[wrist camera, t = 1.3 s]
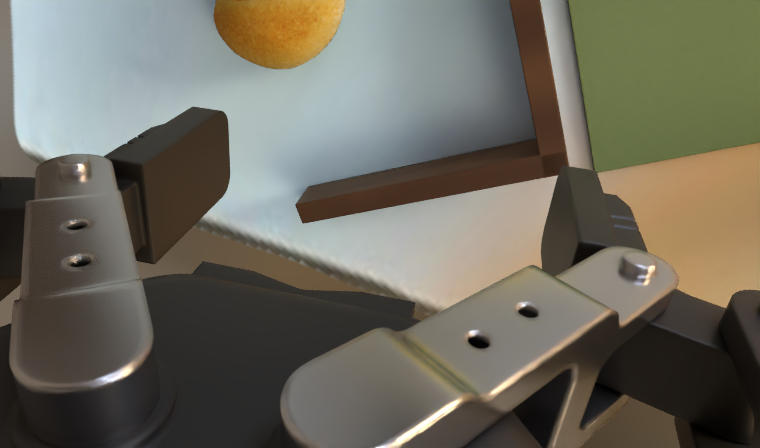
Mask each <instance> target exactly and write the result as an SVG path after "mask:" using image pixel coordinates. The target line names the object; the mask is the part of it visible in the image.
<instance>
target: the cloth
mask: <svg viewBox="0 0 760 448" xmlns="http://www.w3.org/2000/svg"><path fill="white" fill-rule="evenodd" d="M568 4H569V11H570V17H571V24H572V30H573V36H574V43H575V49H576V56H577V62H578V68H579V75H580V81H581V88H582V94H583V101H584V107H585V113H586V120H587V126H588V133H589V139H590V145H591V152H592V158H593V165H594V171H596V172H597V173H599V172H604V171H609V170H615V169H620V168H625V167H630V166H636V165H641V164H646V163H652V162H657V161H662V160H668V159H673V158H678V157H684V156H689V155H694V154H700V153H705V152H710V151H716V150H721V149H726V148H732V147H737V146H742V145H748V144H753V143H758V142H760V0H568Z"/></svg>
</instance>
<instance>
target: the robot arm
mask: <svg viewBox="0 0 760 448" xmlns="http://www.w3.org/2000/svg"><path fill="white" fill-rule="evenodd" d="M229 179H230V157H229V131H228V119H227V116H226V114H225V113H224V112H223V111H218V110H212V109H205V108H199V107H191V108H190V109H188V110H186V111H185V112H183V113H181V114H180V115H178V116H177V117H175V118H173V119H172V120H170V121H169V122H167V123H165V124H162V125H159V126H155V127H152V128H150V129H148V130H146V131H145V132H143V133H141V134H140V135H138V137H135V138H133V139H132V140H130V141H128V143H127V144H123V145H122V146H120V147H118V148H117V149H115V150H114V151H112V152H110V153H109V154H107V155H105V156H104V157H102V156H98V155H92V154H70V155H65V156H60V157H56V158H53V159H50V160H47V161H45V162H43V163H42V164H40V165H39V166H38V167H37V169H36V172H35V178H31V177H30V178H29V177H28V178H27V177H26V178H25V177H0V301H1V300H2V299H4V298H5V297H6V296H7V295H8V294H10V293H11V292H12V291H13V290H14V289H15V288H17V287H18V286H19V285H20V284H21V291H20V299H19V300H15V301H14V304H13V312H12V323H11V324H8V325H5V326H2V327H0V448H579V447H581V446H582V445H583V443H585V442H586V441H587V440H588V439H589V438H590V437H591V436H592V435H593V434H594V433H596V432H597V431H598V430H599V429H600V428H601V427H602V426H603V425H604V424H605V423H606V422H607V421H608V420H610V419H611V418H612V417H613V416H614V415H615V414H616V413H617V412H618V411H619V410H620V409H621V408H623V407H624V406H625V405H626V404H627V403H628V401H629V400H630V398H631V397H632V398H634V399H636V400H638V401H641V402H643V403H645V404H648V405H650V406H652V407H655V408H657V409H659V410H662V411H664V412H666V413H668V414H671V415H673V416H675V419H674V420H675V426H676V431H677V435H678V440H679V444H680V447H681V448H760V291H758V290H743V291H739V292H736V293H735V294H733V295H732V297H731V299H730V301H729V304H728V306H727V308H723V307H720V306H718V305H715V304H712V303H709V302H706V301H703V300H700V299H698V298H695V297H692V296H690V295H688V294H686V293H683V292H681V291H680V290H678V289H676V287H677V284H678V282H679V276H678V273H677V272H676V271H675V269H674V268H673V267H672V266H671V265H670V264H668V263H667V262H666V261H664V260H663V259H661V258H659V257H657V256H655V255H653V254H651V253H648V251H647V249H646V246H645V243H644V241H643V238H642V236H641V233H640V232H639V231H638V230H639V228H638V226H637V223H636V222H635V218H634V216H633V213H632V210H631V208H630V207H629V206H628V205H627V204H626V203H625V202H624V201H622V200H621V199H620V198H619V197H618V196H617V195H611V194H605V193H603V190H602V187H601V184H600V181H599V178H598V174H597V172H596V171H594V170H588V169H581V168H575V167H569V166H562V167H561V169H560V172H559V174H558V178H557V182H556V185H555V189H554V193H553V197H552V201H551V204H550V208H549V212H548V216H547V220H546V223H545V227H544V232H543V237H542V244H541V260H542V269H540V268H538V267H537V266H535V265H530V266H527V267H525V268H523V269H521V270H519V271H517V272H515V273H513V274H511V275H510V276H508V277H506V278H504V279H502V280H500V281H498V282H496V283H494V284H492V285H490V286H489V287H487V288H485V289H483V290H481V291H479V292H477V293H475V294H473V295H471V296H469V297H468V298H466V299H464V300H462V301H460V302H458V303H456V304H454V305H452V306H450V307H448V308H447V309H445V310H443V311H441V312H439V313H437V314H435V315H433V316H431V317H429V318H427V319H426V320H424V321H420V320H418V319H415V318H413V315H414V308H415V302H410V301H405V300H400V299H395V298H390V297H384V296H379V295H374V294H369V293H364V292H347V291H319V290H317V291H315V290H303V289H299V288H296V287H293V286H290V285H288V284H285V283H283V282H280V281H277V280H275V279H272V278H270V277H267V276H264V275H262V274H259V273H257V272H254V271H250V270H245V269H240V268H234V267H229V266H224V265H219V264H214V263H209V262H204V261H203V262H202V263H201V264H200V265H199V266H198V267H197V269H196V270H195V271H194V272H193V273H192V274H172V275H162V276H157V277H151V278H146V279H140V277H139V272H138V267H137V263H136V261H140V262H145V263H150V264H156V263H157V261H158V260H159V259H161V258H162V257H163V255H164V254H166V252H168V250H170V249H171V247H173V246H174V245H175V244H176V243H177V242H178V241H179V240H180V238H182V237H183V236H184V235H185V234H186V233H187V232H188V231H189V230H190V229H191V228H192V227H193V226H194V225H195V224H196V223H197V222H198V221H199V220H200V219H201V218H202V217H203V216H204V215H205V214H206V213H207V212H208V211H209V210H210V209H211V208H212V207H213V206H214V205H215V204H216V203H217V202H218V201H219V200H220V199H221V198H222V197H223V196H224V194H225V192H226V190H227V188H228V184H229Z"/></svg>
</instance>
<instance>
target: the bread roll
mask: <svg viewBox="0 0 760 448" xmlns="http://www.w3.org/2000/svg"><path fill="white" fill-rule="evenodd" d="M344 9H345V0H217V1H216V4H215V8H214V22H215V25H216V28H217V30H218V32H219V34H220V36H221V37H222V39H223V40H224V41H225V43H226V44H227V45H228V46H229V47H230V48H231V49H232V50H233V51H234V52H235V53H236V54H238V55H239V56H241V57H242V58H244V59H246V60H248V61H250V62H252V63H255V64H257V65H260V66H263V67H266V68H272V69H290V68H294V67H297V66H299V65H302V64H304V63H306V62H307V61H309V60H310V59H312V58H313V57H315V56H316V55H318V54H319V53H320V52H321V51H322V50H323V49H324V48H325V47H326V46H327V45H328V43H329V42H330V41H331V40H332V37H333V36H334V35H335V33H336V31H337V29H338V27H339V24H340V22H341V18H342V15H343V12H344Z"/></svg>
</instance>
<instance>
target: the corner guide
mask: <svg viewBox="0 0 760 448" xmlns="http://www.w3.org/2000/svg"><path fill="white" fill-rule="evenodd" d="M509 1H510V6H511V11H512V16H513V21H514V26H515V31H516V37H517V42H518V47H519V52H520V57H521V62H522V67H523V72H524V78H525V83H526V88H527V93H528V98H529V103H530V108H531V113H532V119H533V124H534V129H535V134H536V139H532V140H527V141H522V142H517V143H513V144H508V145H503V146H498V147H494V148H489V149H484V150H479V151H475V152H470V153H465V154H460V155H456V156H451V157H446V158H442V159H437V160H432V161H427V162H423V163H418V164H413V165H408V166H404V167H399V168H394V169H389V170H385V171H380V172H375V173H371V174H366V175H361V176H356V177H352V178H347V179H342V180H337V181H333V182H328V183H323V184H318V185H314V186H309V187H308V188H307V189H306V191H305V192H304V193H303V195H302V196H301V198H300V199H299V200H298V202H297V203H296V204H295V205H296V208H297V211H298V213H299V216H300V218H301V221H302V223H309V222H314V221H319V220H324V219H330V218H335V217H340V216H345V215H351V214H356V213H361V212H366V211H372V210H377V209H382V208H387V207H393V206H398V205H403V204H408V203H414V202H419V201H424V200H429V199H435V198H440V197H445V196H450V195H456V194H461V193H466V192H471V191H477V190H482V189H487V188H492V187H498V186H503V185H508V184H513V183H519V182H524V181H529V180H534V179H540V178H546V177H551V176H556V175H558V174H559V172H560V169H561V167H562V166H569V163H568V157H567V152H566V146H565V140H564V134H563V129H562V123H561V117H560V112H559V106H558V100H557V94H556V89H555V83H554V77H553V71H552V66H551V60H550V54H549V49H548V43H547V37H546V31H545V26H544V20H543V14H542V8H541V3H540V0H509Z"/></svg>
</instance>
